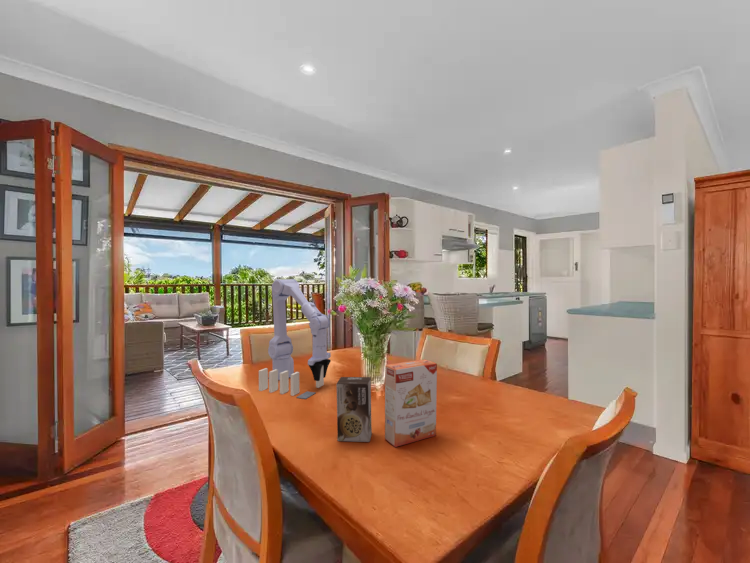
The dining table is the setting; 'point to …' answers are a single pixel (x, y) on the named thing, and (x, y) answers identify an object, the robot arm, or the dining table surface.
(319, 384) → the domino
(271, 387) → the domino
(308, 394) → the plate
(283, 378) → the domino
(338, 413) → the dark brown upright box
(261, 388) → the domino
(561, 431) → the dining table surface
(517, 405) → the dining table surface
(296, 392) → the domino
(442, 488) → the dining table surface
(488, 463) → the dining table surface
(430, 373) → the cracker box
